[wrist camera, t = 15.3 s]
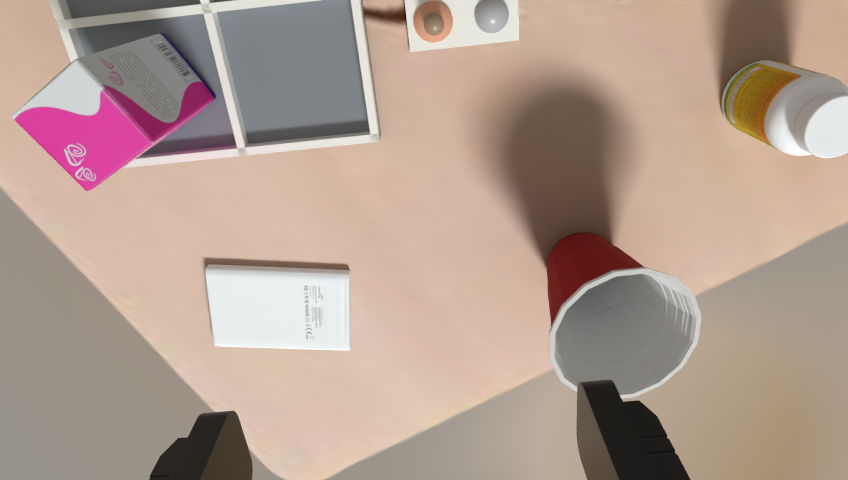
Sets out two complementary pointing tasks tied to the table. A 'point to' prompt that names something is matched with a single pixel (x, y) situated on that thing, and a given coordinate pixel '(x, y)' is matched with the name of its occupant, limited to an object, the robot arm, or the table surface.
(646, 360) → the plastic cup
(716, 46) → the table surface
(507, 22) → the tile
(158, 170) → the table surface
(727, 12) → the table surface
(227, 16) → the socket board
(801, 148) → the supplement bottle
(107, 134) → the supplement box
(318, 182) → the table surface
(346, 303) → the external hard drive
